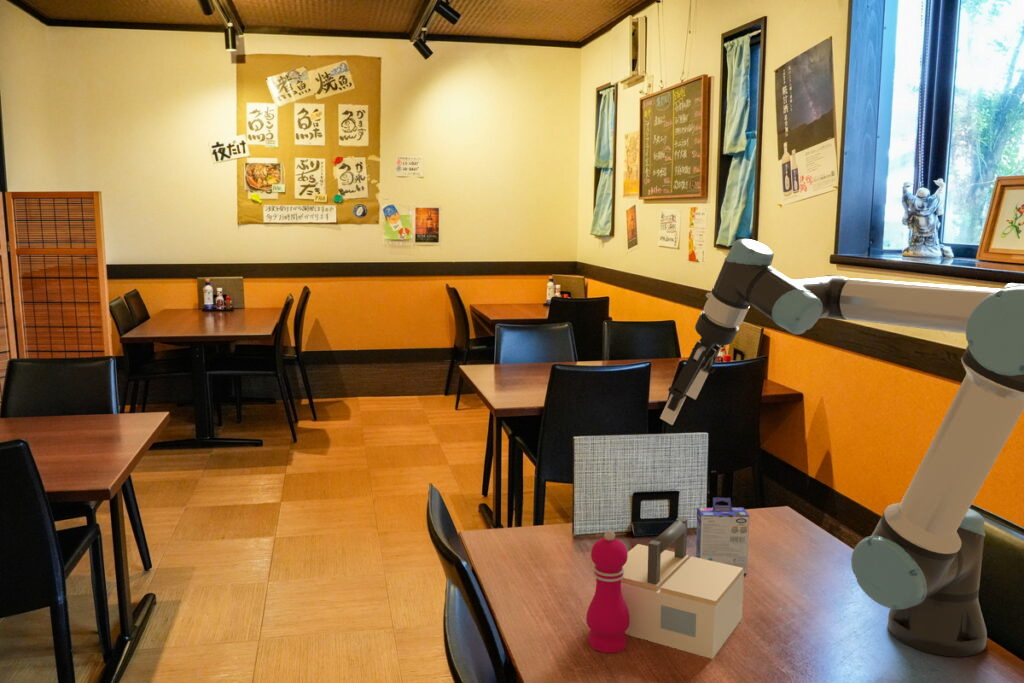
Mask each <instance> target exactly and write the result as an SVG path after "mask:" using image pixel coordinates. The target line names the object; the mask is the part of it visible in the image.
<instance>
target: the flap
mask: <svg viewBox="0 0 1024 683" xmlns="http://www.w3.org/2000/svg"><path fill="white" fill-rule="evenodd" d="M687 535H688V519H687V518H685V517H680V516H679V517H677V518H676V519H675V521H674V522H673V523H672V524H671V525H670V526H668V527H667V528H666V529H665V530H664V531H663V532H661V534H659V535H658V536H657V537H656V538H655V539H654V540H653V539H652V540H650V541H649V542H648V544H647V545H644V544H640V543H638V544H636V545H635V546H634V547H633V548H631V549H630V550H629V551H627V554H628V557H627V561H626V563H625V564H624V565H623V568H624V577H623V578H622V579H621V582H625V583H629V584H633V585H637V586H641V587H645V588H649V589H653V590H657V591H658V590H659V589H660V587H661V586H662V585H663V584H664V583H665V582H666V581H667V580H668V579H669V578H670V577H671V576H672V575H673V574H674V573H675V572H676V571H677V570H678V569H679V568H680V567H681V566H682V565H683V564H684V563H685V562H686V561H687V560H688V559H689V558H690V555H689V554H687V543H688V542H687V541H688V540H687V538H688V536H687ZM672 544H674V551H672V550H671V551H670V550H667V549H668V548H669V547H670V546H671V545H672Z"/></svg>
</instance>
